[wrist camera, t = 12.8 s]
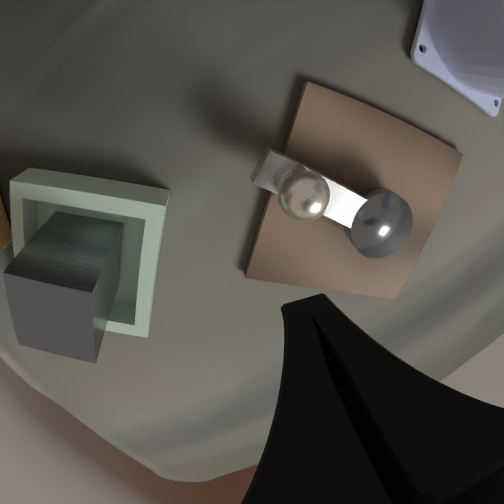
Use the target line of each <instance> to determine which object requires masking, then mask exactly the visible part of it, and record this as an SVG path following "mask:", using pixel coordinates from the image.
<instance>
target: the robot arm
mask: <svg viewBox="0 0 504 504" xmlns="http://www.w3.org/2000/svg"><path fill="white" fill-rule="evenodd" d="M420 45H421V46H422V52H421V51H420V49H419V46H420ZM410 57H411V60H412V61H413V62H414V63H415V64H417V65H418V66H420V67H422V68H423V69H425V70H426V71H428V72H430V73H431V74H433V75H434V76H436V77H437V78H439V79H440V80H442V81H444V82H445V83H446V84H448V85H449V86H451V87H452V88H454V89H455V90H457V91H458V92H459V93H461V94H462V95H464V96H465V97H466V98H468V99H469V100H470V101H472V102H473V103H474V104H476V105H477V106H478V107H480V108H481V109H482V110H483V111H485V112H486V113H487V114H488V115H490V116H493V117H495V116H496V115H497V114H498V111H499V108H500V104H501V100H502V98H503V99H504V0H424V2H423V6H422V10H421V14H420V18H419V22H418V26H417V30H416V34H415V37H414V41H413V44H412V48H411V52H410ZM494 102H495V103H494ZM281 312H282V316H283V320H284V360H283V369H282V377H281V384H280V390H279V396H278V401H277V406H276V410H275V414H274V418H273V422H272V426H271V429H270V433H269V436H268V439H267V443H266V446H265V449H264V451H263V454H262V457H261V459H260V462H259V465H258V467H257V470H256V472H255V475H254V477H253V480H252V482H251V484H250V486H249V489H248V491H247V493H246V495H245V497H244V499H243V501H242V503H241V504H504V408H501V407H498V406H495V405H491V404H489V403H485V402H483V401H480V400H478V399H475V398H473V397H470V396H468V395H465V394H463V393H461V392H459V391H456V390H454V389H452V388H450V387H448V386H446V385H444V384H442V383H440V382H438V381H436V380H434V379H432V378H430V377H429V376H427V375H425V374H423V373H422V372H420V371H418V370H416V369H415V368H413V367H412V366H410V365H408V364H407V363H405V362H404V361H402V360H401V359H399V358H398V357H396V356H395V355H394V354H392V353H391V352H389V351H388V350H387V349H385V348H384V347H383V346H381V345H380V344H379V343H377V342H376V341H375V340H374V339H372V338H371V337H370V336H369V335H368V334H366V333H365V332H364V331H363V330H362V329H360V328H359V327H358V326H357V325H356V324H355V323H353V322H352V321H351V320H350V319H349V318H348V317H347V316H346V315H345V314H344V313H343V312H342V311H341V310H340V309H339V308H337V307H336V306H335V304H334V303H333V302H332V301H331V300H330V299H329V298H328V297H327V296H326V295H324V294H323V293H321V294H318V295H315V296H311V297H308V298H304V299H301V300H297V301H294V302H290V303H286V304H284V305H283V306H282V307H281Z"/></svg>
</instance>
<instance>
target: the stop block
mask: <svg viewBox="0 0 504 504" xmlns="http://www.w3.org/2000/svg"><path fill="white" fill-rule="evenodd" d="M123 227H124V223H121V222H115V221H110V220H104V219H99V218H93V217H87V216H82V215H76V214H70V213H64V212H59V211H55V212H54V213H53V214H52V215H51V217H50V218H49V219H48V220H47V221H46V222H45V223H44V224H43V225H42V226H41V228H40V229H39V230H38V231H37V232H36V233H35V234H34V235H33V237H32V238H31V239H30V240H29V241H28V242H27V244H26V245H25V246H24V247H23V248H22V250H21V251H20V252H19V253H18V254H17V256H16V257H15V258H14V259H13V261H12V262H11V263H10V264H9V266H8V267H7V268H6V269H5V271H4V272H3V276H4V282H5V287H6V292H7V297H8V302H9V307H10V311H11V316H12V320H13V324H14V328H15V332H16V336H17V339H18V343H19V344H21V345H24V346H27V347H31V348H35V349H38V350H42V351H46V352H49V353H53V354H57V355H61V356H66V357H70V358H74V359H78V360H83V361H87V362H92V363H96V361H97V357H98V354H99V350H100V346H101V342H102V339H103V335H104V332H105V328H106V325H107V322H108V318H109V315H110V312H111V308H112V305H113V302H114V299H115V296H116V293H117V289H118V286H119V274H120V260H121V247H122V237H123Z"/></svg>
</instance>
